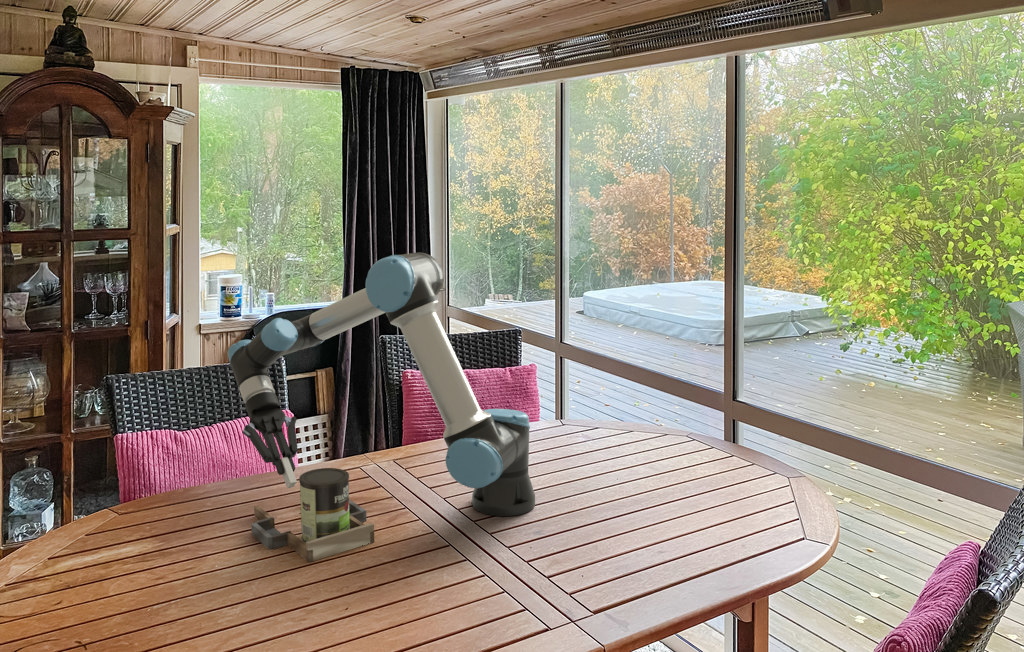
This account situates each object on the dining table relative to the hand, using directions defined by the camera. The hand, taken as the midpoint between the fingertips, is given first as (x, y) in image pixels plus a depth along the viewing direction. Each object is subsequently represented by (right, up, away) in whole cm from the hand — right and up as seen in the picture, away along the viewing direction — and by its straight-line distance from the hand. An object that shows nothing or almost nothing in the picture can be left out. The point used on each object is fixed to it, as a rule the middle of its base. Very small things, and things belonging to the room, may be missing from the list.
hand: (292, 485), depth 178 cm
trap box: (+6, -8, -5) cm, 11 cm away
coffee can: (+10, -10, -10) cm, 17 cm away
